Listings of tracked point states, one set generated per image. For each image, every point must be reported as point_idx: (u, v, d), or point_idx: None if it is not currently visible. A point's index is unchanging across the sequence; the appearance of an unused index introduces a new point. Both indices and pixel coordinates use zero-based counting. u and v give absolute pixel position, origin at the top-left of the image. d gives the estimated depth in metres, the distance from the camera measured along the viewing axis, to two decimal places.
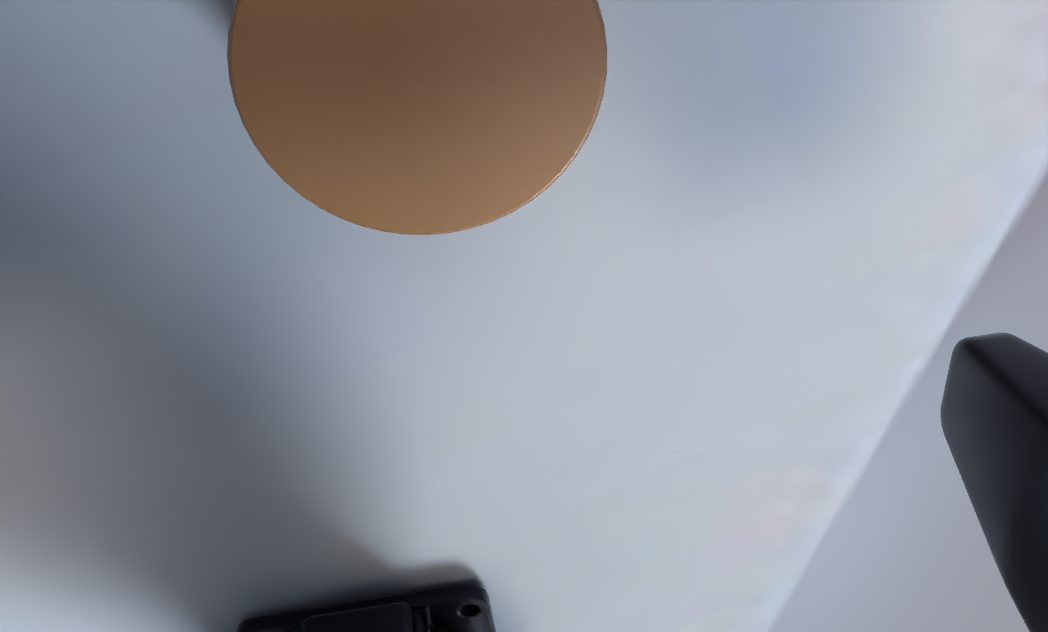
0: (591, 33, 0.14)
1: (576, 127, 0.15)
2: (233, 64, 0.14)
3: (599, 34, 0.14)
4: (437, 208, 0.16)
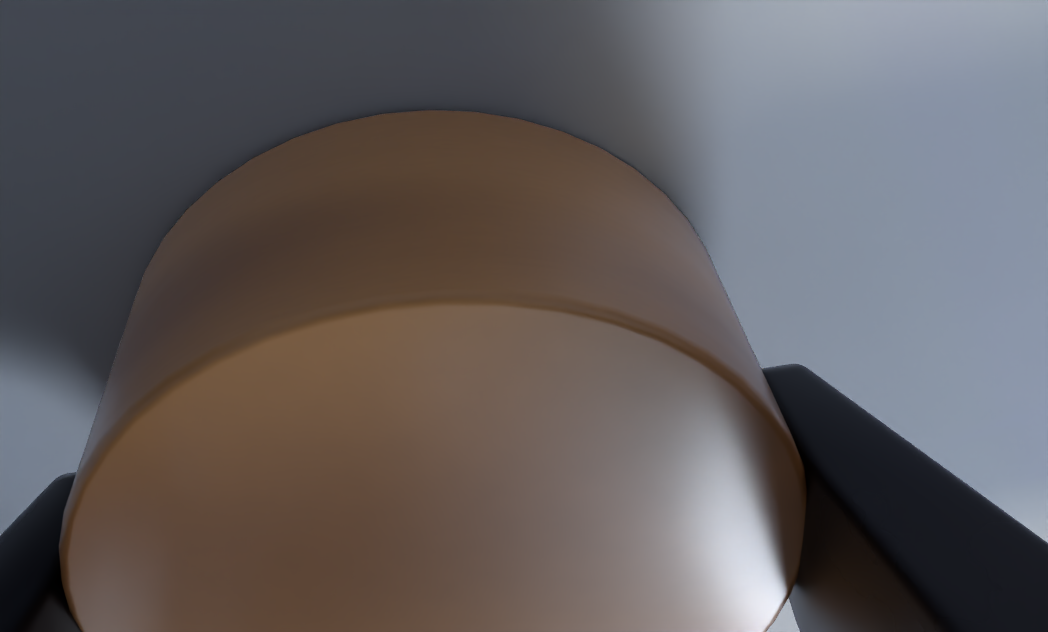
0: (786, 514, 0.07)
1: None
2: (73, 600, 0.07)
3: (800, 513, 0.07)
4: None
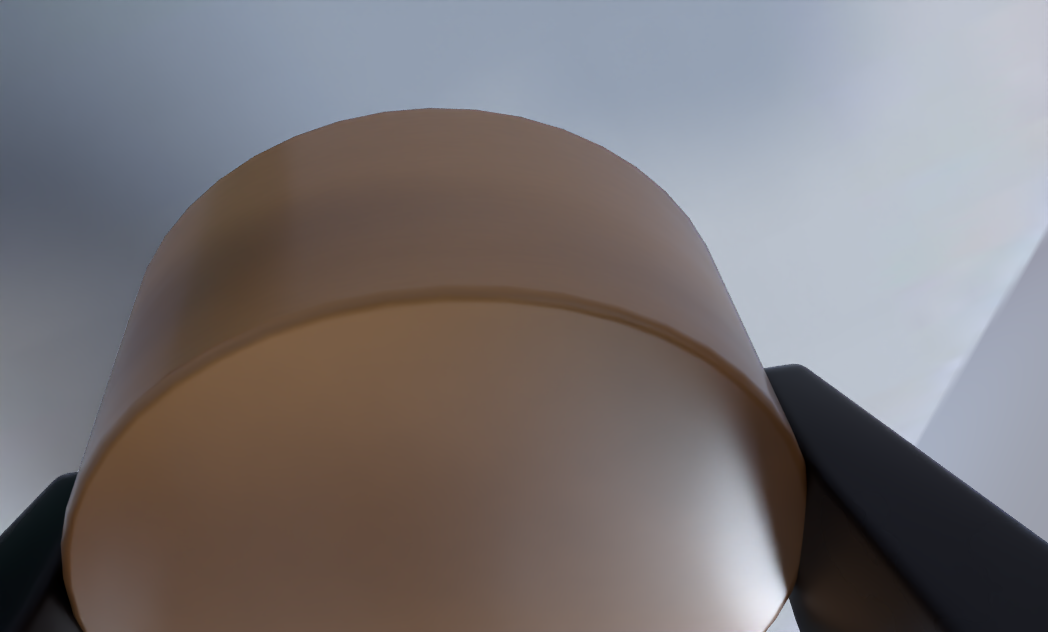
0: (787, 512, 0.07)
1: None
2: (75, 598, 0.07)
3: (801, 510, 0.07)
4: None
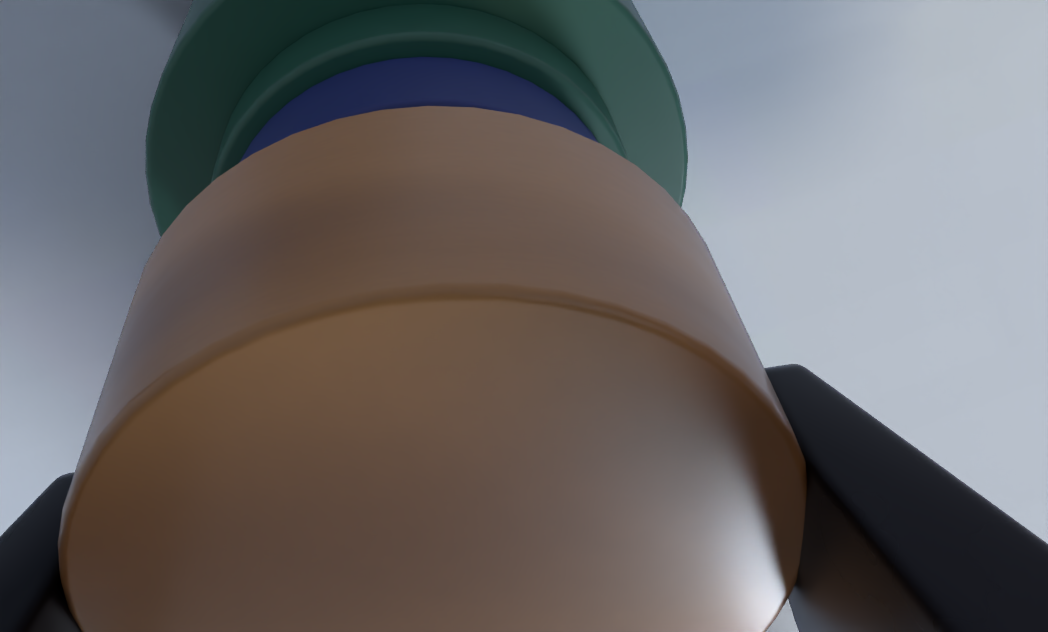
0: (787, 511, 0.07)
1: None
2: (72, 597, 0.07)
3: (801, 509, 0.07)
4: None
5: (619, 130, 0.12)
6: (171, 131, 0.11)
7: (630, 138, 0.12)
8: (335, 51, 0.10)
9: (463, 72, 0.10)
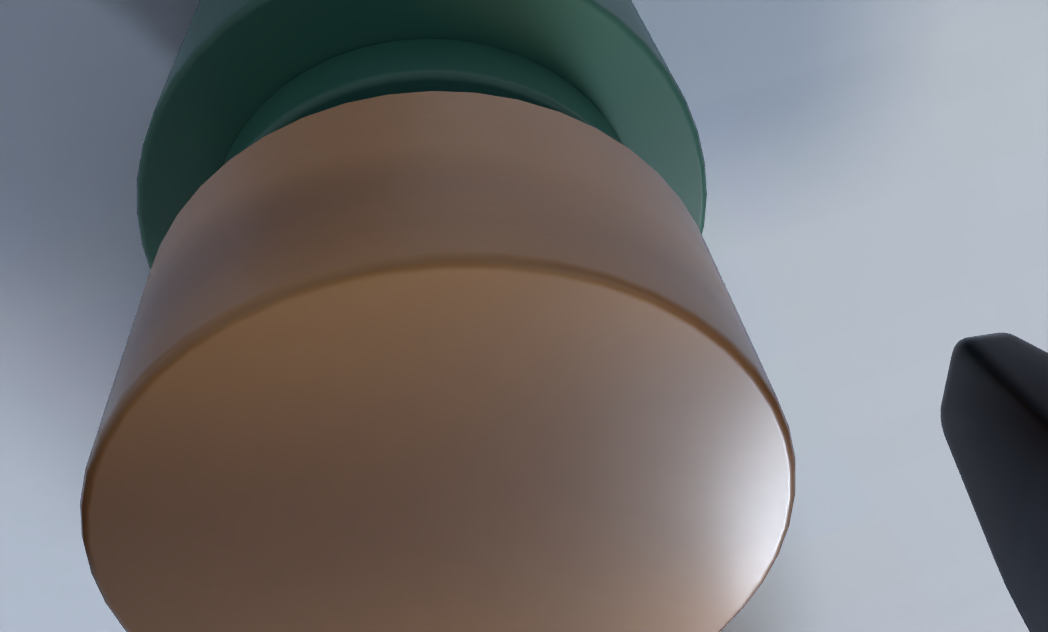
0: (772, 475, 0.08)
1: (727, 598, 0.09)
2: (93, 555, 0.07)
3: (786, 474, 0.08)
4: None
5: None
6: (163, 170, 0.10)
7: None
8: (336, 91, 0.09)
9: None
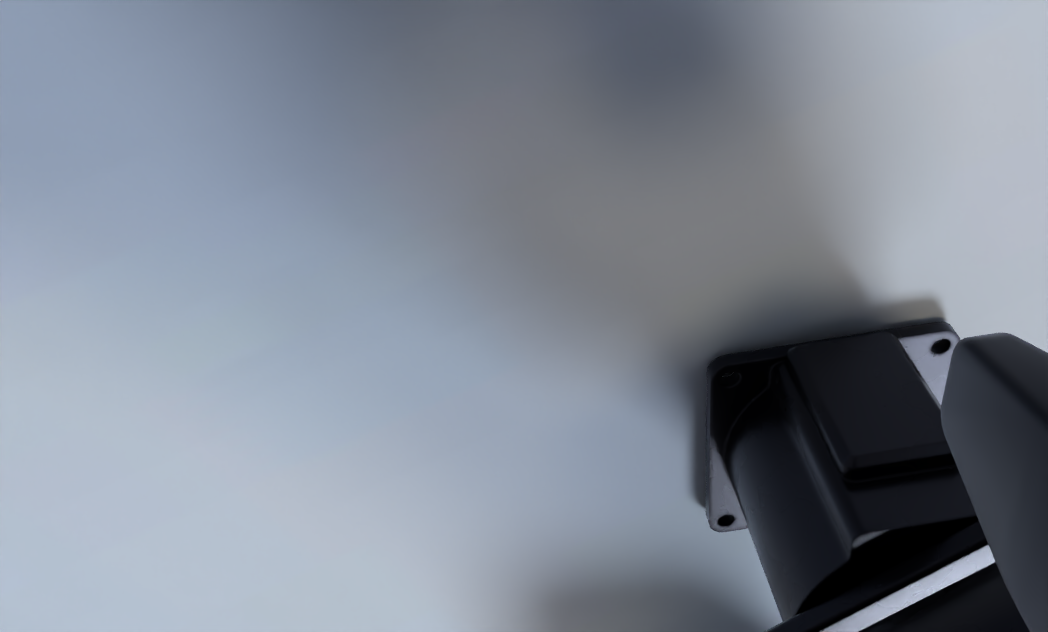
0: None
1: None
2: None
3: None
4: None
5: None
6: None
7: None
8: None
9: None
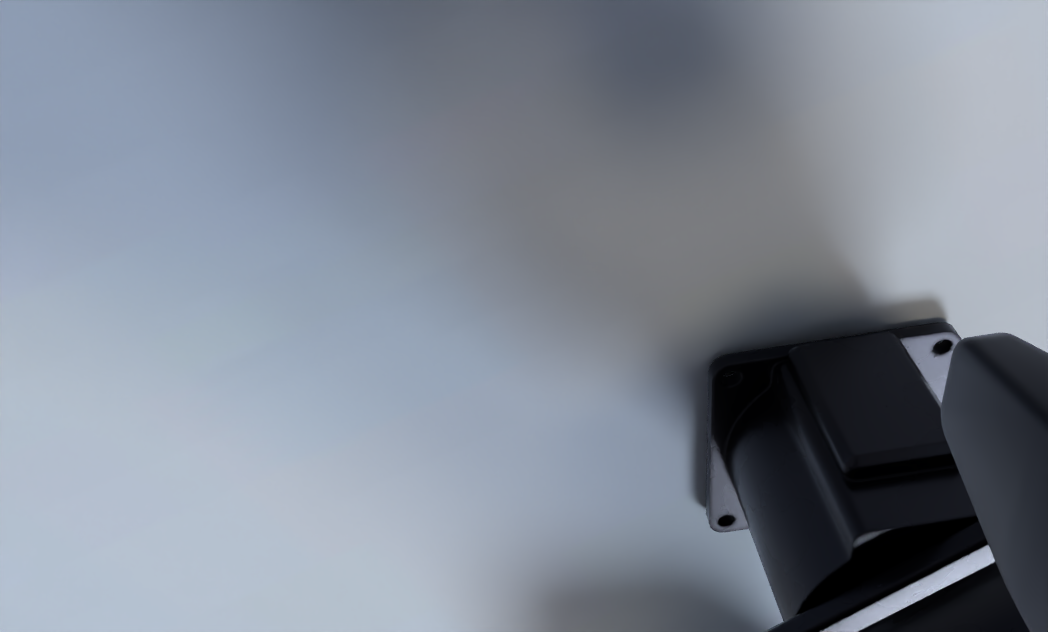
0: None
1: None
2: None
3: None
4: None
5: None
6: None
7: None
8: None
9: None
